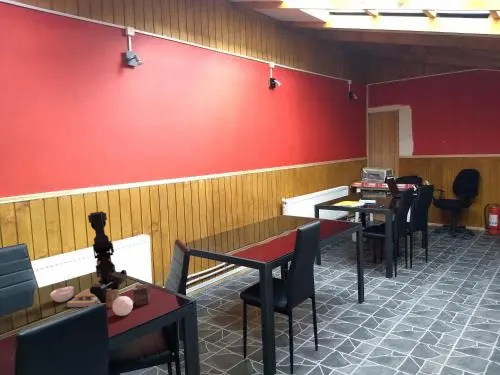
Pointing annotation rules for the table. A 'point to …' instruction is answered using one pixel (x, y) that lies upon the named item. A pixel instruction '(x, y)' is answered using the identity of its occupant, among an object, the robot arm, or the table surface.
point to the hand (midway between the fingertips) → (110, 301)
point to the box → (142, 294)
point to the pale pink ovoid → (122, 305)
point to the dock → (82, 302)
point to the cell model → (62, 294)
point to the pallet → (85, 295)
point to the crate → (111, 296)
